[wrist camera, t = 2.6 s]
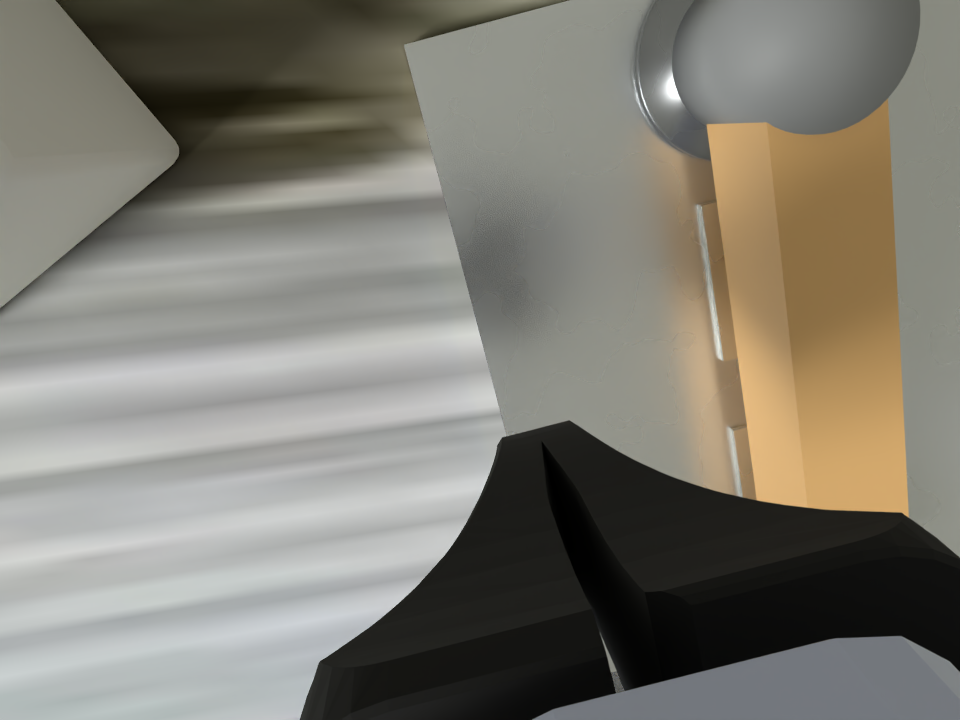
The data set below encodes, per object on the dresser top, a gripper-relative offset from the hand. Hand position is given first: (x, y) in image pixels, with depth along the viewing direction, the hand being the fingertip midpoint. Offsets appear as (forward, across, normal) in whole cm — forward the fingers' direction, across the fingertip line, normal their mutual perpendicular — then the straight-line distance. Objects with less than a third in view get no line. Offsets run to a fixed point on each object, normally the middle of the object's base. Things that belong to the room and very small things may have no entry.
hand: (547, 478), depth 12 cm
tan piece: (+5, -6, 0) cm, 8 cm away
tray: (+6, -6, +1) cm, 9 cm away
